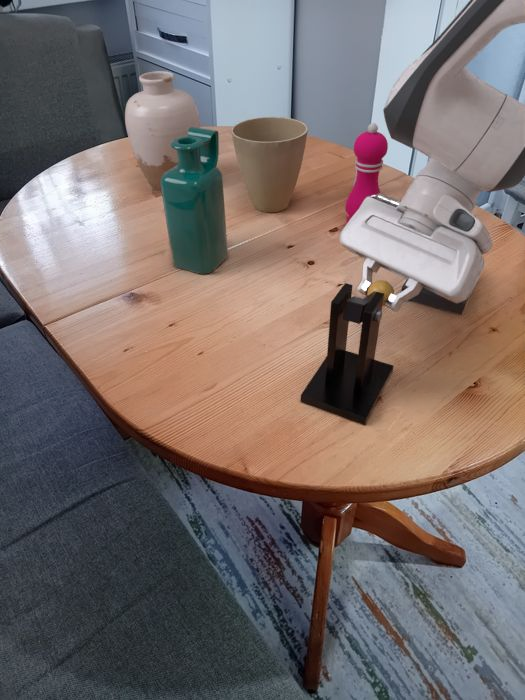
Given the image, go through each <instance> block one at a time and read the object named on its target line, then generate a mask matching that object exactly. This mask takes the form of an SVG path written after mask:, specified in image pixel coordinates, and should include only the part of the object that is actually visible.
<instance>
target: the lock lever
mask: <svg viewBox="0 0 525 700" xmlns="http://www.w3.org/2000/svg"><path fill="white" fill-rule="evenodd" d="M376 292H380V293H384V299H383V306H382V307H385V306H386V305H385V303H386V301H387V300H388V299H389V296H390V294H391V293H392V294H394V295H395V289H394V287H393V285H392V284H391V283H390V282H389V281H387V280H384V279H379V280H376V281H373V282H372V284H371V285H370V287H369V289H368V292H367V295H368V296H366V295H365V296H364V297H358V296H355V295H353V296H351V298H350V299H348V300H347V301H346V305H345V310H344V314H343V319H344V320H347V321H349V322H351V323H354V324H358V325H360V324H362V321H363V313H364V310H365V308H366V307H367V305H368V304H369V302H370V301H371V299H372V298H373V296H374V295H375V293H376ZM386 307H387V306H386Z"/></svg>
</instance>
